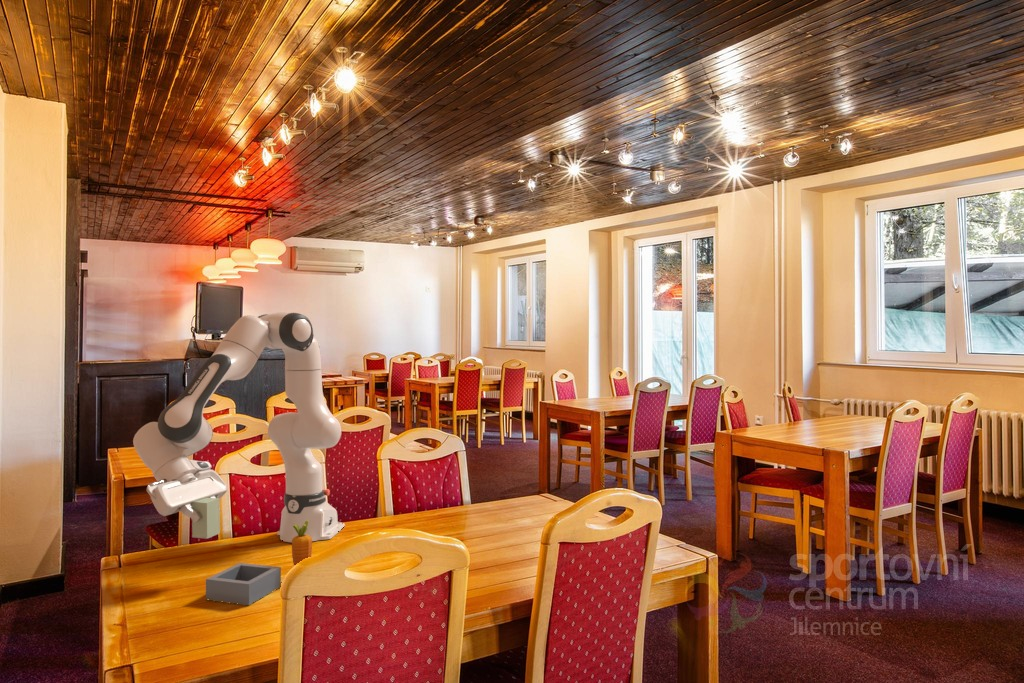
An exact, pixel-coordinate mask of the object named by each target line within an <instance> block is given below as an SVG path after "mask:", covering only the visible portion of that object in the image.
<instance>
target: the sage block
mask: <svg viewBox="0 0 1024 683" xmlns="http://www.w3.org/2000/svg"><path fill="white" fill-rule="evenodd" d="M220 507H221V506H220V498H219V499H218V498H204V499H201V500H198V501H195V502H192V507H191V509H193V510H194V511H195V512H200V514H201V515H202V519H201V520H200V521H197V522H194V521H193V520H192V519H191V521H192V522H191V523H192V524H191V525H192V526H191V529H192V530H191V533H192V534H191V536H192V538H194V539H195V538H197V539H205V540H207V539H210V538H212V537H214V536H217V535H219V534H220V533H221V531H220V530H221V526H220V525H221V523H220V522H221V520H220V518H221V516H220V514H221V513H220V512H221V508H220Z"/></svg>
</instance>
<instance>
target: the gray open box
mask: <svg viewBox="0 0 1024 683" xmlns="http://www.w3.org/2000/svg"><path fill="white" fill-rule="evenodd" d="M281 576H282V567H281V566H273V565H265V564H264V565H263V564H255V563H254V564H253V563H244V562H238V563H237V564H234V565H232V566H231V567H229V568H226V569H224V570H222V571H219V572H218V573H215V574H213V575H211V576H210V577H207V578H206V579H205V600H206V599H209V600H215V601H223V602H230V603H238V604H244V605H243V606H246V605H250V604H251V605H253V604H254V603H253V602H255V601H257V600H258V601H260V600H261V599H260V598H262V597H263V598H265V597H267V596H268V595H270V594H271V593H270V592H272V591H274V590H275V589H277V588H279V589H280V588H281V587H280V584H281V585H282V583H281V581H282V577H281ZM277 590H278V589H277ZM275 591H276V590H275ZM275 591H274V592H275ZM269 593H270V594H269ZM272 593H273V592H272ZM267 594H268V595H267ZM266 595H267V596H266ZM264 596H265V597H264ZM263 598H262V599H263ZM259 599H260V600H259ZM215 601H214V602H215ZM258 601H257V602H258ZM230 603H229V604H230ZM252 603H253V604H252ZM255 603H256V602H255ZM238 604H237V605H238ZM251 605H250V606H251Z"/></svg>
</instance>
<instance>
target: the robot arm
mask: <svg viewBox="0 0 1024 683" xmlns="http://www.w3.org/2000/svg"><path fill="white" fill-rule="evenodd" d="M264 349H273V350H282V351H283V353H284V358H285V360H284V361H285V362H284V379H285V380H284V382H285V384H284V386H285V388H284V390H285V395H286V397H287V398H288V399H289V400H290V401H291V402H292V403H293V404H294V406H295V408H296V411H297V412H283V413H280V414H276V415H274V417H272V419H271V420H270V422H269V424H268V428H267V433H268V437H269V439H270V441H271V442H272V443H274V444H275V446H276V448H278V451H279V454H280V455H281V457H282V461H283V465H284V471H285V473H284V474H285V492H284V496H283V504H284V507H283V508H282V510H281V517H280V518H281V519H280V526H279V530H277V534H276V535H277V536H278V535H280V536H279V539H280V540H281V541H282V540H283V541H282V542H286V543H292V539H293V538H294V537H295V536H297V535H298V533H297V532H296V530H295V528H294V527H293V525H296V524H297V525H298V526H299V529H300V528H302V526H303V524H305V522H306V520H307V521H309V522H308V526H307V528H308V529H307V531H306V532H305V534H307V535H309V536H310V537H311V538H312V542H316V541H325V540H330V539H332V538H333V537H335V536H336V535H337V534H338V533H339V532H340V531H342V530H343V529H344V528H345V527H346V525H345V523H344V522H341V521H338V511H337V509H336V508H335V507H333V506H332V505H331V504H330V503H328V501H326V500H327V498H326V496H330V494H331V490H330V489H328V488H327V489H325V488H323V466H322V464H321V463H320V461H318V460H317V459H316V457H315V456H314V454H313V452H312V450H325V449H330V448H333V447H335V446H336V445H337V444H338V443H339V441H340V440H341V438H342V426H341V423H340V421H339V420H338V419H337V418H336V417H335V416H334V414H332V412H331V411H330V409H329V407H328V405H327V403H326V399H325V396H324V392H323V377H322V376H323V371H322V370H323V369H322V367H323V366H322V356H321V351H320V345H319V342H318V340H317V338H316V337H314V329H313V325H312V323H311V321H310V319H309V318H308V317H307V316H306V315H304V314H301V313H298V312H275V313H270V314H269V313H268V314H267V313H265V314H261V315H259V316H255V315H248V314H247V315H243V316H241V317H240V318H238V319H237V320H236V321H235V323H233V325H232V326H231V327H230V328H229V330H228V331H227V332H226V333H225V335H224V337H222V340H220V343H219V344H218V346H217V347H216V349H215V350H214V352H213V353H212V355H211V356H210V357H209V358H208V359H207V360H206V361H205V362H204V364H202V366H201V367H200V368H199V370H198V371H197V373H196V374H195V375H194V376H193V378H192V379H191V380H190V382H189V383H188V385H187V386H186V388H185V389H184V390H183V392H182V393H181V394H180V395H179V396H178V397H177V398H176V399H174V400H173V402H170V403H169V404H168V405H166V406H165V408H164V409H163V410H162V411H161V412H160V414H159V417H158V418H157V421H150V422H148V423H146V424H144V425H143V426H141V427H140V428H139V429H138V430H137V431H136V433H135V434H134V437H133V440H132V442H133V444H132V445H133V447H134V449H135V452H136V453H137V455H138V457H139V458H140V460H141V461H142V462H143V464H144V465H145V466H146V467H147V468H149V470H150V471H151V472H152V475H153V477H154V479H155V480H156V481H152V482H150V483H148V484H147V487H146V492H147V493H148V495H149V496H150V500H151V501H152V504H153V506H154V507H155V509H156V511H157V512H158V514H159V515H160V516H164V517H166V516H169V515H173V514H176V513H178V512H181V513H182V515H184V516H186V517H188V518H190V519H191V521H192V520H193V521H194V522H197V521H200V520H201V519H202V515H201V514H200V512H195V511H194V510H193V509H192V502H195V501H198V500H201V499H204V498H218V499H219V500H220V499H221V498H223V496H225V495H226V493H227V491H228V485H227V483H226V482H225V480H224V479H222V477H221V476H220V474H219V473H218V472H217V471H216V470H214V469H211V468H212V464H211V463H210V462H209V461H206V460H205V461H204V460H203V461H202V460H195V459H189V458H188V457H189V456H191V455H193V454H196V453H198V452H199V451H201V450H203V449H204V448H206V447H207V446H209V444H210V443H211V441H212V438H213V435H214V431H213V427H212V426H211V424H210V423H209V421H208V420H207V419H206V418H205V417H204V414H203V413H204V408H205V406H206V405H207V404H208V402H209V400H210V399H211V398H212V397H213V395H214V393H215V392H216V390H217V389H218V387H219V386H220V385H221V384H222V383H224V382H225V381H237V380H238V381H239V380H242V379H244V378H245V377H247V376H248V375H249V373H250V372H251V371H252V370H253V368H254V366H256V363H257V361H258V360H259V358H260V356H261V354H262V353H263V351H264ZM342 523H343V524H342ZM344 526H345V527H344ZM343 527H344V528H343ZM342 528H343V529H342ZM341 529H342V530H341ZM338 531H339V532H338Z"/></svg>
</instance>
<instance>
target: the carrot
mask: <svg viewBox="0 0 1024 683" xmlns="http://www.w3.org/2000/svg"><path fill="white" fill-rule="evenodd" d="M308 522H309V521H307V520H306V522H305V524H303V526H302V528H300V529H299V526H298V525H297V524H296V525H293V527H294V528H295V530H296V532H297V533H298V535H297V536H295V537H294V538H293V539H292V542H291V553H292V554H291V555H292V562H293V563H292V564H293V566H294V565H296V564H297V563H299V562H300V561H302V560H303V559H305V558H308V557H311V558H312V553H313V552H312V551H313V550H312V549H313V548H312V547H313V541H312V538H311V537H310V536H309V535H307V534H305V532H306V531H307V529H308V528H307V526H308Z"/></svg>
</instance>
